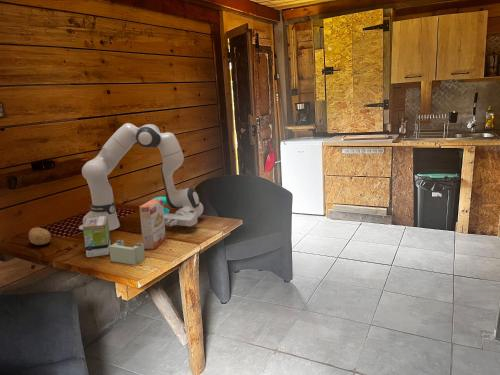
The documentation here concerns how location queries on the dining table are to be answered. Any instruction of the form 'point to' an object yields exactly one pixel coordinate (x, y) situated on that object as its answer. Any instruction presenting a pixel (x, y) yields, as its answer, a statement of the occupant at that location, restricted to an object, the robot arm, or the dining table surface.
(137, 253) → the pale green block
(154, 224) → the cracker box
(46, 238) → the potato
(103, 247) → the tea box
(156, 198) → the donuts
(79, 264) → the dining table surface
